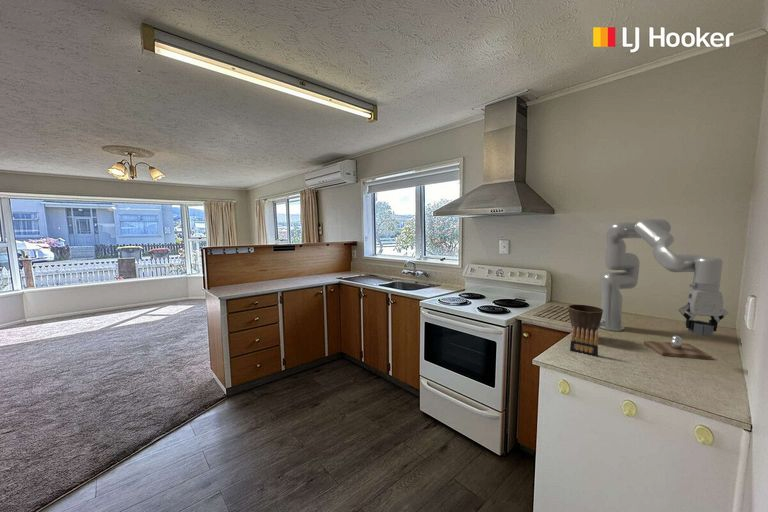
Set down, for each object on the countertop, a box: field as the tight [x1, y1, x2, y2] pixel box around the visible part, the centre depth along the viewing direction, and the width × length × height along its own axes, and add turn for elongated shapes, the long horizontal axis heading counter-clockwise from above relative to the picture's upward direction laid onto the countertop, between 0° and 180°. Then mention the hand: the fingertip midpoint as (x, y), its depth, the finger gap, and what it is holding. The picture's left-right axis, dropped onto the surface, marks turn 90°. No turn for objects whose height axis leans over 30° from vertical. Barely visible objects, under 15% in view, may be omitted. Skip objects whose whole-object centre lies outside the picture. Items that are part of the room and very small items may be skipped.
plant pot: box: [568, 304, 603, 340], centre depth 157 cm, size 15×15×16 cm
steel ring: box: [687, 319, 715, 337], centre depth 126 cm, size 7×7×4 cm
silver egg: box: [670, 335, 683, 350], centre depth 140 cm, size 4×4×6 cm
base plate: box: [643, 340, 713, 360], centre depth 141 cm, size 18×14×2 cm
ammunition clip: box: [569, 326, 599, 358], centre depth 139 cm, size 11×2×12 cm, turn 50°
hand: (700, 329), depth 126 cm, fingers closed on steel ring, 7 cm apart
